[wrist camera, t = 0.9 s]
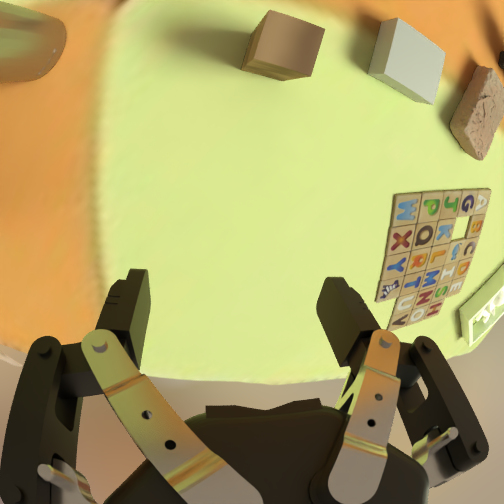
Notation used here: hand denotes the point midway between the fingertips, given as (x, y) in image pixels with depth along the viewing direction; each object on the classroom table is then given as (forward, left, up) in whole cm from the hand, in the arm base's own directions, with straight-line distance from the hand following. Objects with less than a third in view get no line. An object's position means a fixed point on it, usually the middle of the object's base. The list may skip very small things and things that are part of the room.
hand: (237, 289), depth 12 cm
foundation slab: (+4, +29, -24) cm, 38 cm away
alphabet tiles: (+42, +19, -25) cm, 52 cm away
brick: (+18, +41, -24) cm, 51 cm away
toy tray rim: (+78, +39, -24) cm, 90 cm away
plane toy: (+77, +39, -24) cm, 90 cm away
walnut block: (-6, +13, -24) cm, 28 cm away
